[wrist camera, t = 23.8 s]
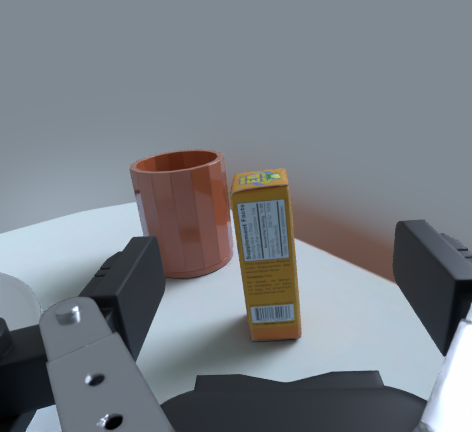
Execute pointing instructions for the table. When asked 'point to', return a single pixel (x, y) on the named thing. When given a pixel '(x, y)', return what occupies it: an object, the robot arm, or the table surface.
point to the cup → (185, 209)
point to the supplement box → (267, 253)
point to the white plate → (18, 303)
